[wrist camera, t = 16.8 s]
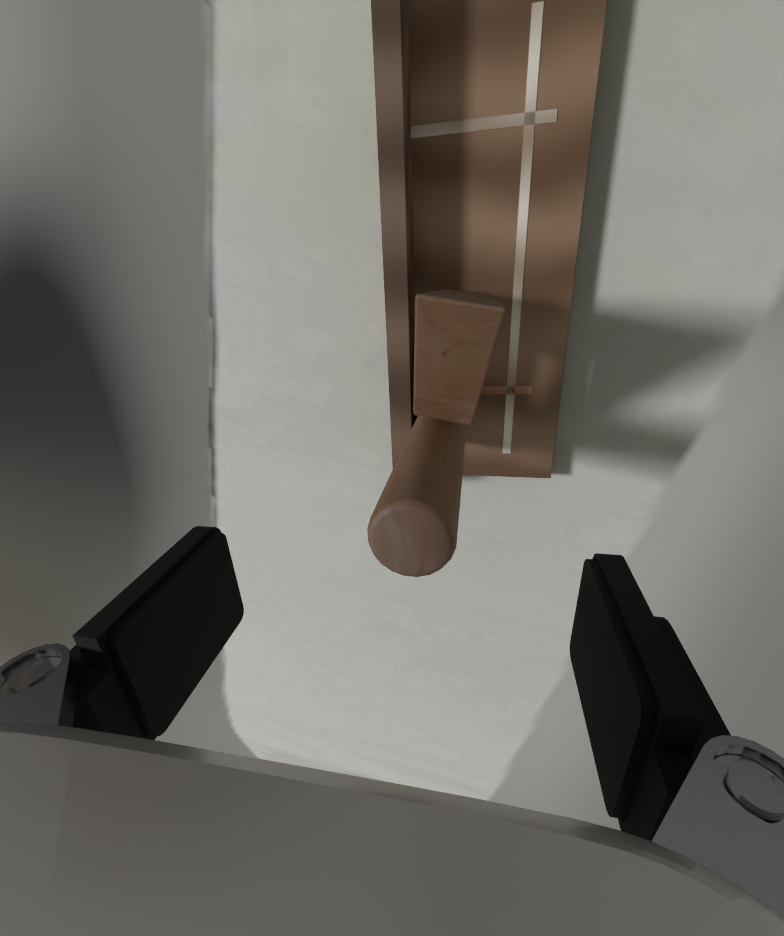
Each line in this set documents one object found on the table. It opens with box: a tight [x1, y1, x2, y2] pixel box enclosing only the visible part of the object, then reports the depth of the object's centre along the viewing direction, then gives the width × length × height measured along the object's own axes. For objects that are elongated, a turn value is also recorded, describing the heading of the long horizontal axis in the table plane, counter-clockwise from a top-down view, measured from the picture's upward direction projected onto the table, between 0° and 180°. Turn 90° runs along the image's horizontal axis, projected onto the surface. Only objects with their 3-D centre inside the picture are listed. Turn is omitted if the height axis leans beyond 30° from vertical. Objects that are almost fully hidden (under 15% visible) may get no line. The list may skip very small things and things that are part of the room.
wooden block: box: [367, 289, 506, 577], centre depth 23 cm, size 4×11×18 cm, turn 172°
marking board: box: [371, 0, 607, 478], centre depth 28 cm, size 30×12×4 cm, turn 2°
